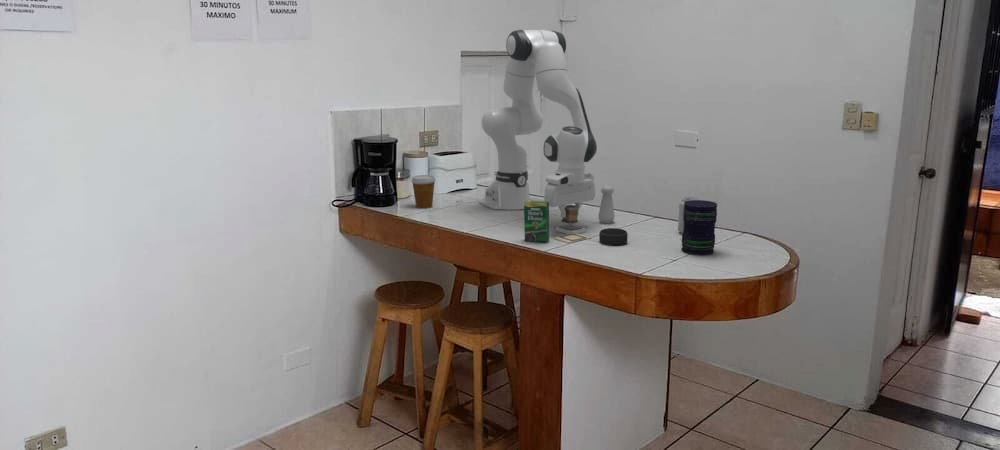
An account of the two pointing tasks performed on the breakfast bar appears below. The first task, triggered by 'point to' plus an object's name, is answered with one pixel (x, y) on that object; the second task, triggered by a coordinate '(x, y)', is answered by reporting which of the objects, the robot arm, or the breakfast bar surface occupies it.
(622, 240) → the smart speaker
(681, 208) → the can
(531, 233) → the coffee box
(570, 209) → the stamp
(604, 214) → the salt shaker
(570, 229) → the ink pad
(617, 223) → the breakfast bar surface
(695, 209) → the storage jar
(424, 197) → the disposable coffee cup
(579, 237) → the card
